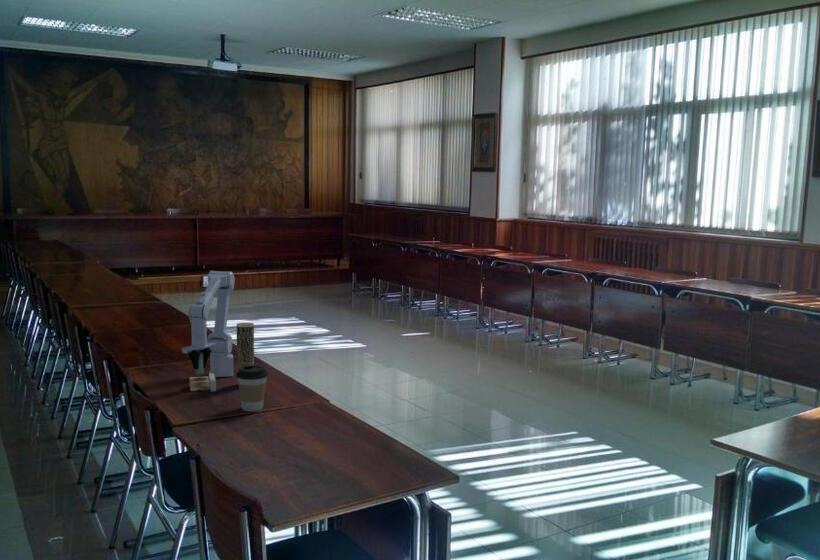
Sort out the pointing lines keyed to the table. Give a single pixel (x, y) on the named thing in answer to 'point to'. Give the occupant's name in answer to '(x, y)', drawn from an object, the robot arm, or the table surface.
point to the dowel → (200, 365)
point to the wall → (212, 382)
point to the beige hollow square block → (199, 383)
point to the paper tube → (245, 345)
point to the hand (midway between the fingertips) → (199, 368)
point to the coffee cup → (252, 387)
